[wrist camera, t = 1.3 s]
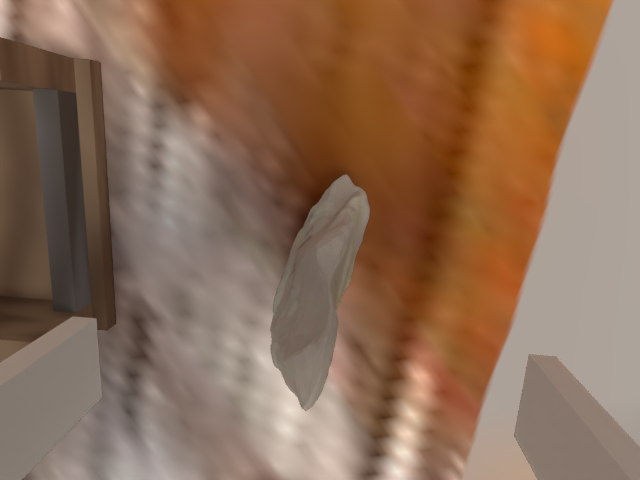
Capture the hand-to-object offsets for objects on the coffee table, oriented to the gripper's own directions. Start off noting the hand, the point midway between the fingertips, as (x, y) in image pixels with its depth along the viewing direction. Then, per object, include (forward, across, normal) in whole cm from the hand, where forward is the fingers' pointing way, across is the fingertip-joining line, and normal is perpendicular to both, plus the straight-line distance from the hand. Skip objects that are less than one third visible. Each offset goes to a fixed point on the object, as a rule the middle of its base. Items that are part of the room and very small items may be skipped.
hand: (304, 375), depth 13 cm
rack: (+16, -22, +2) cm, 27 cm away
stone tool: (+17, 0, 0) cm, 17 cm away
